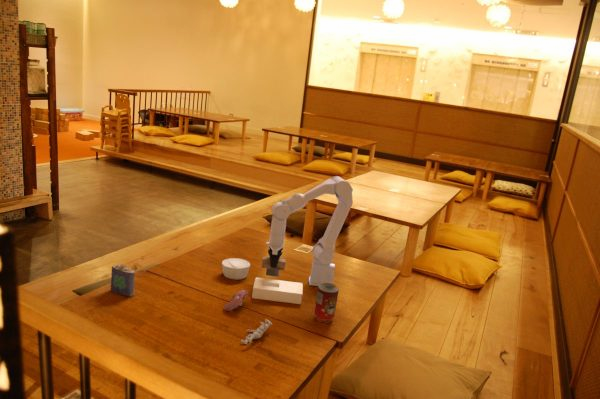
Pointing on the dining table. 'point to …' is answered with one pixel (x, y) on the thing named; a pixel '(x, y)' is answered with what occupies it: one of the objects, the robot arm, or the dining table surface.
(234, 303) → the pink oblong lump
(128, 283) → the flask
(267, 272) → the rail end
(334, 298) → the soda can
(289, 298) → the white rectangular box
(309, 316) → the dining table surface
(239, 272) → the ramekin
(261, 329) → the soldier figure
